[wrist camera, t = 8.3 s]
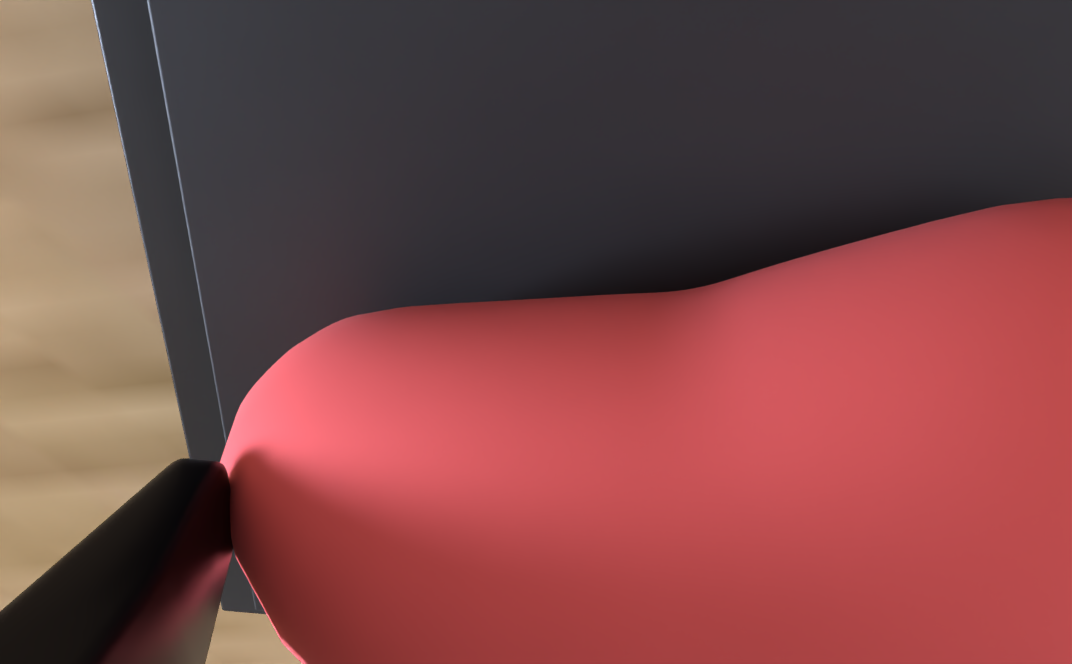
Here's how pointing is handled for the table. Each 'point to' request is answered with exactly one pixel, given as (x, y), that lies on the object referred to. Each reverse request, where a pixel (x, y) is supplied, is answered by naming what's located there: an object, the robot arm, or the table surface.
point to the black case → (545, 152)
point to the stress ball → (685, 466)
